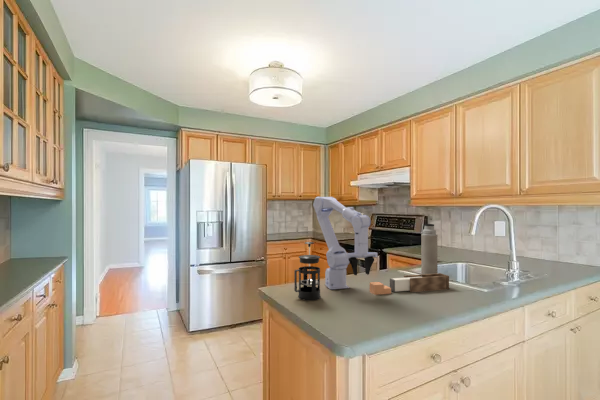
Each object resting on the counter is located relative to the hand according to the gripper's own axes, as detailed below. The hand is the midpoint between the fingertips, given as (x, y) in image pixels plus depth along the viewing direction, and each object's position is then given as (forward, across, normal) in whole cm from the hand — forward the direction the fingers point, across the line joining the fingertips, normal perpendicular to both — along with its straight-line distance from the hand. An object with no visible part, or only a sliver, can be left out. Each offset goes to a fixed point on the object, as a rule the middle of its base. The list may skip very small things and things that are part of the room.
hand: (361, 274), depth 132 cm
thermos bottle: (+9, +50, +21) cm, 54 cm away
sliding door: (+8, +22, 0) cm, 24 cm away
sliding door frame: (+8, +32, 0) cm, 33 cm away
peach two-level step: (+9, +9, 0) cm, 13 cm away
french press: (+9, -24, +1) cm, 25 cm away
